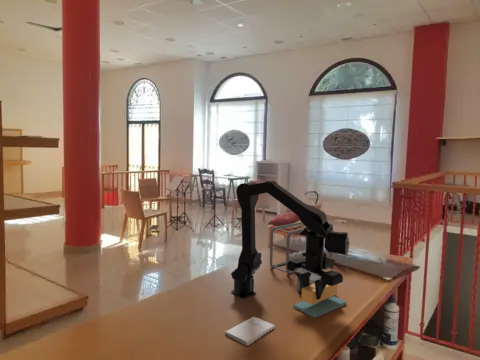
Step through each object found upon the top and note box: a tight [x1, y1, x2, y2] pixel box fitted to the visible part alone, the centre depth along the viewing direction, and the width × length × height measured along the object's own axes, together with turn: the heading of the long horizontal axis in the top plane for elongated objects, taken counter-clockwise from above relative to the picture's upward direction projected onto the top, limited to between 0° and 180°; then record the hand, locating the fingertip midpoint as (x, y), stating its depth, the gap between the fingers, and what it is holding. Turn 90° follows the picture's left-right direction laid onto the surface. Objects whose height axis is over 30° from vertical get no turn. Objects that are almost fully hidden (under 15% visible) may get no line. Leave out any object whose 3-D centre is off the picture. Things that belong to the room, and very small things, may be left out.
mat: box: [293, 295, 347, 319], centre depth 124 cm, size 16×9×1 cm, turn 129°
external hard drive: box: [224, 316, 276, 346], centre depth 106 cm, size 2×8×12 cm
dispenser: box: [295, 274, 319, 293], centre depth 135 cm, size 11×8×6 cm
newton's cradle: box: [269, 221, 334, 275], centre depth 164 cm, size 30×10×18 cm, turn 130°
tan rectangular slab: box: [300, 283, 338, 305], centre depth 123 cm, size 13×4×4 cm, turn 130°
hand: (312, 296), depth 121 cm, fingers closed on tan rectangular slab, 4 cm apart
